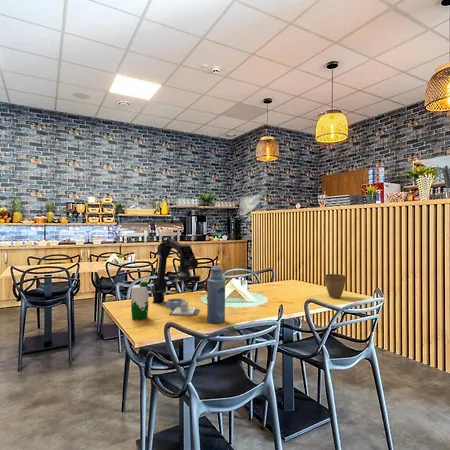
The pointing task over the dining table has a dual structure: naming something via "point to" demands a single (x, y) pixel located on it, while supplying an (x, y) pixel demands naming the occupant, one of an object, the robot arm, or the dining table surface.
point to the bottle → (216, 296)
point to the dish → (174, 303)
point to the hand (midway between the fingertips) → (184, 292)
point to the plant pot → (335, 284)
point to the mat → (187, 315)
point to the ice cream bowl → (205, 284)
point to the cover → (184, 309)
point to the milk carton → (139, 301)
